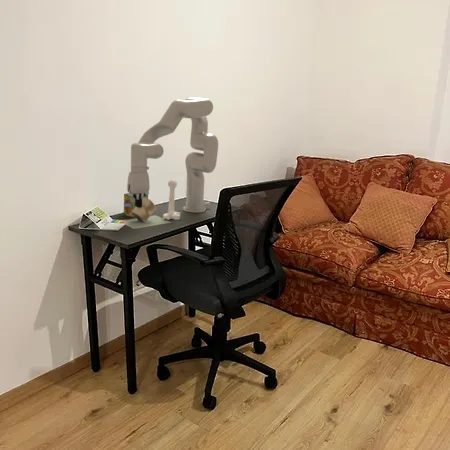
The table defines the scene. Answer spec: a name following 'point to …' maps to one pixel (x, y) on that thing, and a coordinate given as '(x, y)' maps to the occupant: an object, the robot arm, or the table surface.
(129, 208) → the chalk box
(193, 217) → the table surface
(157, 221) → the mat
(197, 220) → the table surface
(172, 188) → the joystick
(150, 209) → the maple block
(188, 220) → the table surface
